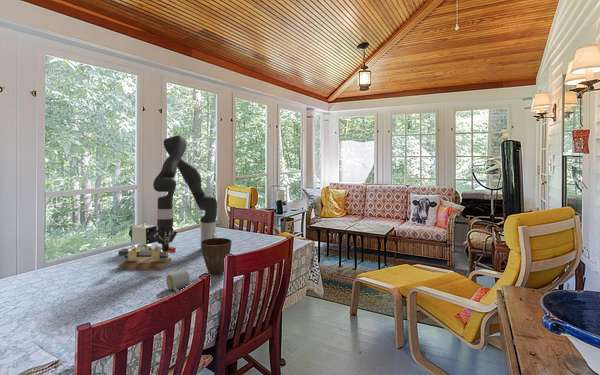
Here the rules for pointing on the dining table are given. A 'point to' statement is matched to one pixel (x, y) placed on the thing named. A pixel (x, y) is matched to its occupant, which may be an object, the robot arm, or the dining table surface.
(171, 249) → the red lever
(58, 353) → the dining table surface
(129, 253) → the pipe manifold
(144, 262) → the base board
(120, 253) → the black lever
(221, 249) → the plant pot
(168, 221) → the robot arm
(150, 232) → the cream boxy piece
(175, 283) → the ceramic mug
